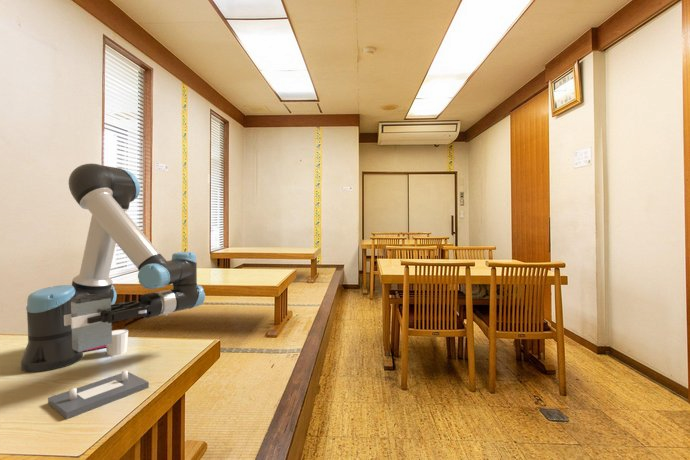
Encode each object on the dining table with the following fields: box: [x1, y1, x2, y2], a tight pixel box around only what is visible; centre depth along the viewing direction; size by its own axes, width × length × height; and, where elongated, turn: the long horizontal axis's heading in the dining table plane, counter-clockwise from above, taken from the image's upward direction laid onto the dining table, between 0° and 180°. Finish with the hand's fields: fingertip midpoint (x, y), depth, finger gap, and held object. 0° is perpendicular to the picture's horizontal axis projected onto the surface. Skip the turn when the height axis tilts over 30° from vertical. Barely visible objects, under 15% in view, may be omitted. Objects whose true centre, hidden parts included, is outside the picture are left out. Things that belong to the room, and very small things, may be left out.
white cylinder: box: [105, 328, 129, 357], centre depth 119 cm, size 7×7×7 cm
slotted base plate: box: [47, 370, 150, 420], centre depth 90 cm, size 12×18×4 cm, turn 146°
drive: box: [71, 292, 113, 352], centre depth 97 cm, size 4×8×14 cm, turn 146°
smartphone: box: [83, 345, 106, 353], centre depth 127 cm, size 8×1×15 cm
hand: (68, 321), depth 92 cm, fingers closed on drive, 4 cm apart
